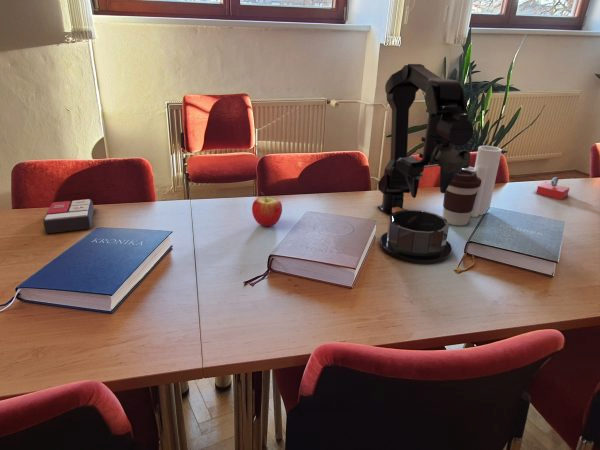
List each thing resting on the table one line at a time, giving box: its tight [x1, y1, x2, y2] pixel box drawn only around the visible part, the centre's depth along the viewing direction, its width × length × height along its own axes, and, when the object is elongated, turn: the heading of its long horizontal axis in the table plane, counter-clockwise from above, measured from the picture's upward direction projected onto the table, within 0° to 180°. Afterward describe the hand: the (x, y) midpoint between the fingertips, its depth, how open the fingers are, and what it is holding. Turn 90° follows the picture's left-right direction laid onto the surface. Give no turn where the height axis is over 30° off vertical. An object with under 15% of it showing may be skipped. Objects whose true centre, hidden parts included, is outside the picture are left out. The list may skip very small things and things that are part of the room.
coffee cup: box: [442, 170, 481, 226], centre depth 128 cm, size 10×10×15 cm
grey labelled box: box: [42, 198, 94, 234], centre depth 124 cm, size 11×4×15 cm
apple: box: [251, 191, 283, 227], centre depth 124 cm, size 8×8×10 cm
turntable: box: [379, 231, 453, 265], centre depth 114 cm, size 18×18×1 cm
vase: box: [463, 145, 503, 218], centre depth 134 cm, size 11×7×20 cm, turn 111°
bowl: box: [386, 207, 450, 256], centre depth 114 cm, size 17×14×6 cm
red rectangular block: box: [535, 176, 570, 201], centre depth 154 cm, size 8×7×6 cm
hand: (428, 195), depth 114 cm, fingers open, 9 cm apart
